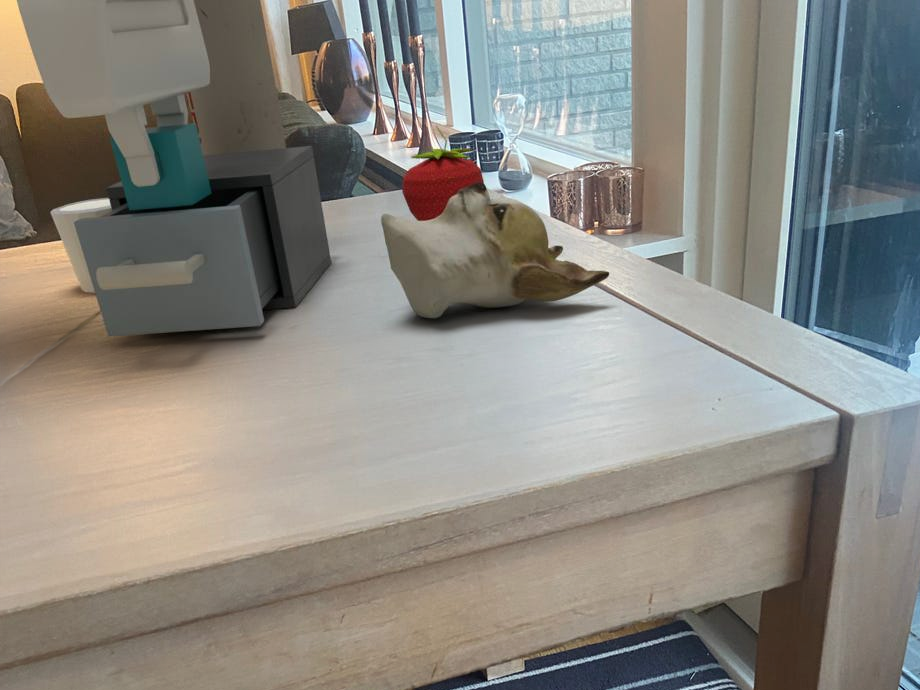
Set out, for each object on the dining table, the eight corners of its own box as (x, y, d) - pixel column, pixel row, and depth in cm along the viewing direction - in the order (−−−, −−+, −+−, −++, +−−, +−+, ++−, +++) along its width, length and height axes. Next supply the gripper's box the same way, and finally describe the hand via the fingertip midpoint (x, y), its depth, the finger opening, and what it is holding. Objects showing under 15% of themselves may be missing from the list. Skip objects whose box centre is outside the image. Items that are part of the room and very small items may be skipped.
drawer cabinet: (295, 307, 75) (270, 173, 70) (142, 318, 76) (105, 187, 71) (331, 263, 87) (312, 145, 82) (198, 273, 88) (170, 158, 83)
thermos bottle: (214, 263, 91) (127, -107, 76) (235, 244, 98) (159, -99, 82) (295, 256, 91) (225, -118, 75) (311, 238, 97) (250, -110, 81)
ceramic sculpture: (364, 178, 68) (561, 164, 72) (374, 302, 73) (558, 284, 76) (395, 202, 60) (617, 184, 63) (405, 341, 65) (610, 318, 68)
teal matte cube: (129, 210, 66) (109, 137, 63) (152, 198, 69) (134, 129, 67) (192, 205, 65) (174, 131, 63) (212, 193, 69) (196, 123, 66)
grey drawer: (242, 346, 64) (214, 222, 60) (81, 357, 65) (42, 237, 61) (301, 278, 79) (282, 175, 75) (169, 288, 80) (143, 187, 76)
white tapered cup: (63, 292, 86) (36, 209, 83) (131, 274, 90) (109, 194, 86) (98, 302, 82) (71, 214, 78) (168, 282, 86) (146, 198, 82)
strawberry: (399, 252, 88) (383, 130, 83) (471, 237, 91) (460, 118, 85) (426, 262, 84) (411, 135, 78) (501, 246, 86) (492, 122, 81)
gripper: (118, -58, 67) (170, 159, 75) (-29, -73, 51) (59, 208, 58) (204, -68, 67) (248, 151, 74) (84, -87, 50) (158, 200, 58)
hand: (164, 177), depth 66 cm, fingers closed on teal matte cube, 4 cm apart
